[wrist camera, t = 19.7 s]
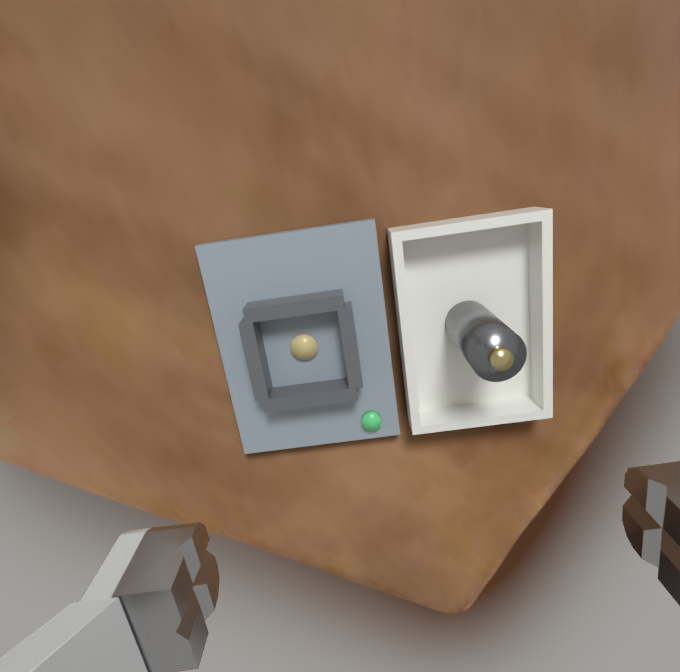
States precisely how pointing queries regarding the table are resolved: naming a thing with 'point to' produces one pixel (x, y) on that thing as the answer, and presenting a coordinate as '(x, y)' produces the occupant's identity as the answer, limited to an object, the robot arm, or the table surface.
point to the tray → (492, 292)
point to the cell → (485, 341)
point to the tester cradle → (303, 335)
